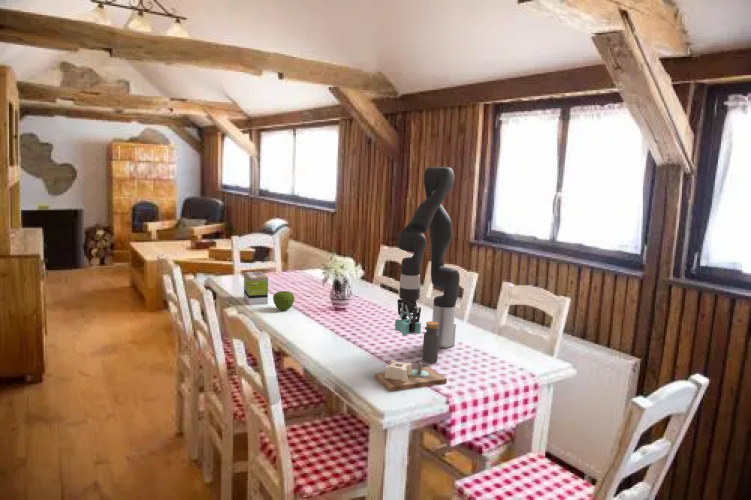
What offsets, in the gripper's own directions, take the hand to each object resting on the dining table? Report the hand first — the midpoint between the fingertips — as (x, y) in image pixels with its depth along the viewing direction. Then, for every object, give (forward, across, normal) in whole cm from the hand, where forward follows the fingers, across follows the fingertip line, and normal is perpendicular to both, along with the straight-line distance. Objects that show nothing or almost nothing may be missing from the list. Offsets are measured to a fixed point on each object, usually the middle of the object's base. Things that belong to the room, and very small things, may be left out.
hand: (407, 329), depth 197 cm
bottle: (+14, 0, -10) cm, 17 cm away
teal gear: (+1, 0, 0) cm, 1 cm away
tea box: (+14, +106, +32) cm, 111 cm away
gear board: (+13, -15, +7) cm, 21 cm away
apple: (+14, +85, +23) cm, 89 cm away
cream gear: (+11, -14, +11) cm, 21 cm away
